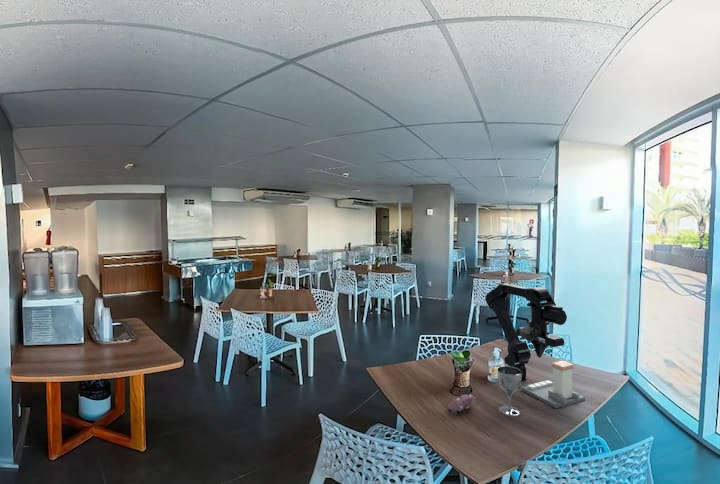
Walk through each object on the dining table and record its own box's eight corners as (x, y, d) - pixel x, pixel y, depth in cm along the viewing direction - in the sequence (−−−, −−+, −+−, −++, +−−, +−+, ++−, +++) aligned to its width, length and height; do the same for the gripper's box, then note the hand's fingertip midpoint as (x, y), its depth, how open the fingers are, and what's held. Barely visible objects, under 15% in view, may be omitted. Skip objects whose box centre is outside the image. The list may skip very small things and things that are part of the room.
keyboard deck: (521, 390, 145) (521, 382, 145) (548, 383, 151) (548, 375, 150) (557, 409, 130) (557, 400, 130) (586, 400, 135) (586, 392, 135)
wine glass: (520, 407, 132) (520, 367, 131) (522, 418, 124) (522, 375, 123) (497, 404, 134) (497, 364, 133) (498, 415, 127) (497, 373, 126)
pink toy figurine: (453, 418, 128) (459, 404, 125) (445, 407, 132) (451, 394, 129) (473, 411, 133) (480, 397, 130) (465, 400, 136) (471, 388, 133)
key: (551, 395, 137) (551, 362, 137) (562, 392, 139) (562, 360, 139) (562, 400, 133) (562, 367, 132) (573, 397, 135) (573, 364, 134)
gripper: (506, 316, 150) (506, 352, 151) (543, 327, 133) (543, 368, 134) (526, 313, 154) (526, 348, 155) (565, 323, 137) (565, 363, 138)
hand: (539, 357), depth 145 cm, fingers closed
